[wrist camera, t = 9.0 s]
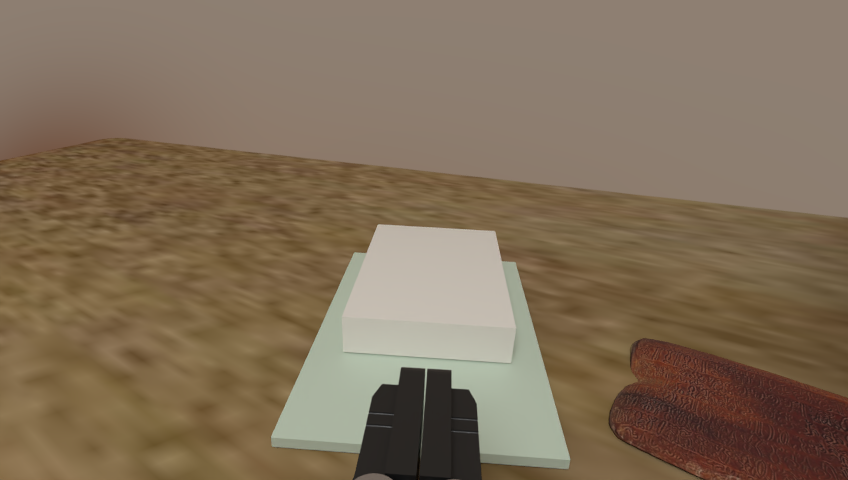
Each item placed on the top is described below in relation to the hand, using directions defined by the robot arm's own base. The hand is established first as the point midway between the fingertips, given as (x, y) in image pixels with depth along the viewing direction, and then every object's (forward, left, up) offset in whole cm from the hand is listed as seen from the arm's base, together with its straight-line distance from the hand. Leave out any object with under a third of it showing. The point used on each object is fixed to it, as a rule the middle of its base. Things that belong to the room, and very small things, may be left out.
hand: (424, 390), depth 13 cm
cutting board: (-12, -9, -9) cm, 17 cm away
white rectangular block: (-9, -7, -7) cm, 13 cm away
